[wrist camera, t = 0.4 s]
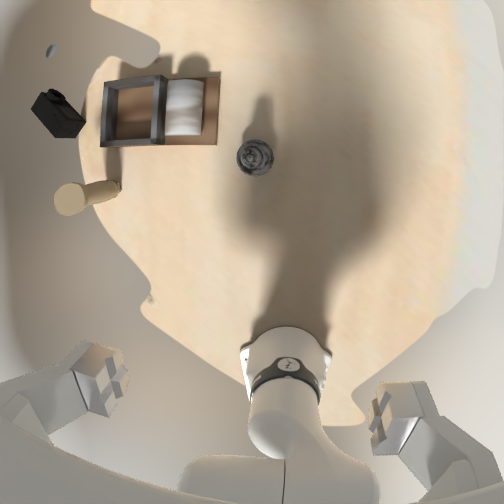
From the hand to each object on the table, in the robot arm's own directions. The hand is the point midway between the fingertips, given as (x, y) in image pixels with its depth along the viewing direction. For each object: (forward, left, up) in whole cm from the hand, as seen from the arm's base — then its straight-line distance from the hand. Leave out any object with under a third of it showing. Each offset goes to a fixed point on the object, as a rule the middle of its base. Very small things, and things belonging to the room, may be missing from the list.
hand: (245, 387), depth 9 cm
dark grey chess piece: (+7, +4, -48) cm, 48 cm away
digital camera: (+17, +43, -48) cm, 67 cm away
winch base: (+15, +21, -48) cm, 54 cm away
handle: (+1, +31, -48) cm, 57 cm away
